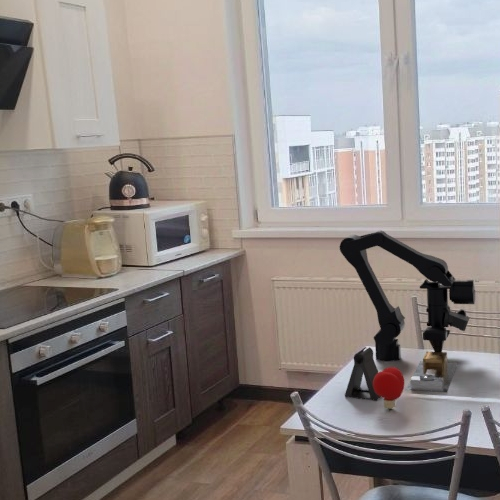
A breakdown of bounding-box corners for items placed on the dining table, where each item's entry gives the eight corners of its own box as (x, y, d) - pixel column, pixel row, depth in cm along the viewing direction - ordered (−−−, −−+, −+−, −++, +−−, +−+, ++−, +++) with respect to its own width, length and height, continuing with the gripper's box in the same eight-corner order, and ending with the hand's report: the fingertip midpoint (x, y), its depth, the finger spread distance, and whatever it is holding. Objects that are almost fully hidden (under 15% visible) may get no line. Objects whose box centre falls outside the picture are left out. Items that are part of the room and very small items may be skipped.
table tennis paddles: (386, 401, 188) (384, 362, 187) (411, 406, 184) (410, 366, 182) (367, 413, 181) (365, 373, 180) (393, 418, 177) (391, 377, 175)
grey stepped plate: (405, 392, 193) (405, 377, 193) (420, 363, 216) (419, 350, 216) (447, 395, 190) (446, 380, 189) (457, 365, 212) (457, 351, 212)
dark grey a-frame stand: (386, 393, 194) (384, 348, 192) (377, 401, 189) (375, 355, 187) (353, 389, 199) (351, 345, 197) (344, 396, 193) (342, 351, 192)
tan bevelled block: (423, 372, 206) (422, 358, 205) (427, 365, 212) (426, 351, 212) (444, 373, 204) (443, 359, 203) (447, 366, 210) (446, 352, 209)
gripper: (463, 311, 202) (465, 367, 204) (469, 296, 219) (471, 348, 221) (421, 311, 206) (423, 365, 208) (430, 296, 223) (432, 347, 225)
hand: (439, 356), depth 215 cm, fingers closed
